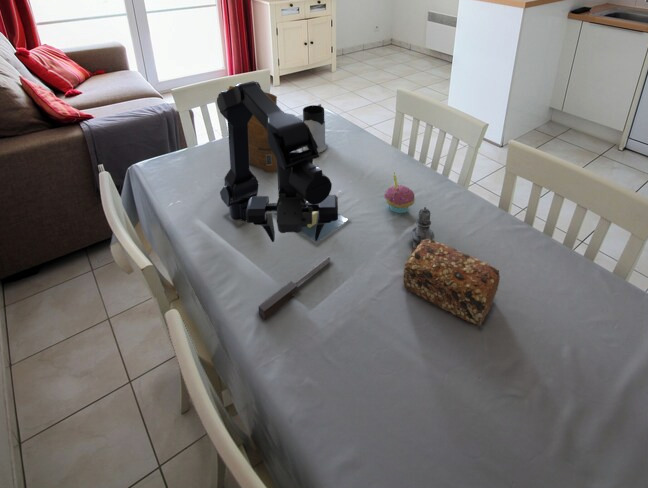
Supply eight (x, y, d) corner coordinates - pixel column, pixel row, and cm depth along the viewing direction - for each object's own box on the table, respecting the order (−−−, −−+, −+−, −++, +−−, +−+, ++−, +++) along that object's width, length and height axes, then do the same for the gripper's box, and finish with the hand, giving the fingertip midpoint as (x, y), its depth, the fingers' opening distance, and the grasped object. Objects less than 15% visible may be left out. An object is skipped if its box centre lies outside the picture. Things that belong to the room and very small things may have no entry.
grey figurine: (432, 255, 107) (436, 215, 102) (409, 251, 108) (412, 212, 103) (433, 239, 112) (437, 201, 108) (411, 236, 113) (414, 198, 109)
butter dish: (272, 215, 120) (272, 212, 120) (304, 196, 129) (303, 193, 128) (316, 245, 109) (316, 242, 109) (348, 222, 118) (348, 219, 117)
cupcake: (380, 214, 121) (381, 178, 117) (389, 197, 129) (391, 163, 124) (409, 222, 118) (412, 185, 114) (417, 204, 126) (420, 169, 121)
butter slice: (305, 225, 115) (305, 214, 114) (319, 216, 118) (319, 206, 117) (309, 228, 114) (309, 217, 113) (323, 219, 117) (322, 208, 116)
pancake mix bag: (274, 178, 137) (268, 97, 126) (232, 161, 146) (224, 84, 136) (288, 168, 142) (284, 90, 132) (247, 152, 152) (240, 78, 141)
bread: (497, 298, 95) (503, 263, 91) (479, 333, 87) (485, 296, 83) (422, 261, 105) (425, 228, 101) (400, 289, 97) (402, 254, 93)
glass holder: (299, 151, 153) (297, 113, 147) (310, 133, 166) (309, 97, 160) (323, 154, 151) (322, 115, 146) (332, 135, 164) (332, 99, 159)
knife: (259, 314, 90) (258, 306, 89) (326, 262, 104) (326, 254, 103) (264, 320, 89) (264, 311, 88) (332, 266, 103) (332, 258, 102)
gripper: (237, 204, 79) (244, 269, 85) (338, 202, 80) (338, 266, 86) (247, 171, 89) (253, 231, 95) (337, 170, 91) (337, 229, 97)
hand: (294, 240), depth 93 cm, fingers open, 9 cm apart
